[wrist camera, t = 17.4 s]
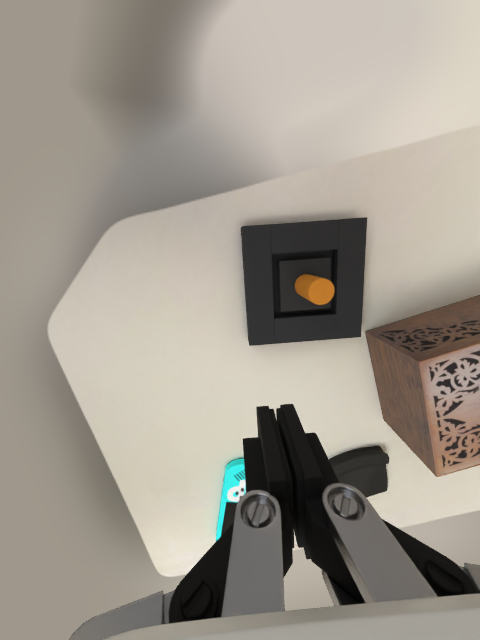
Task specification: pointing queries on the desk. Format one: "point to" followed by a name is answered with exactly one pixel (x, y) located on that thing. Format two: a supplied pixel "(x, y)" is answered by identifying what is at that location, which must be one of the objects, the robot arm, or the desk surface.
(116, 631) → the robot arm
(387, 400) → the tissue box cover
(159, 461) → the desk surface
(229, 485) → the handheld game console
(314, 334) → the base pad
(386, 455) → the curved wedge
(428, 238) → the desk surface
